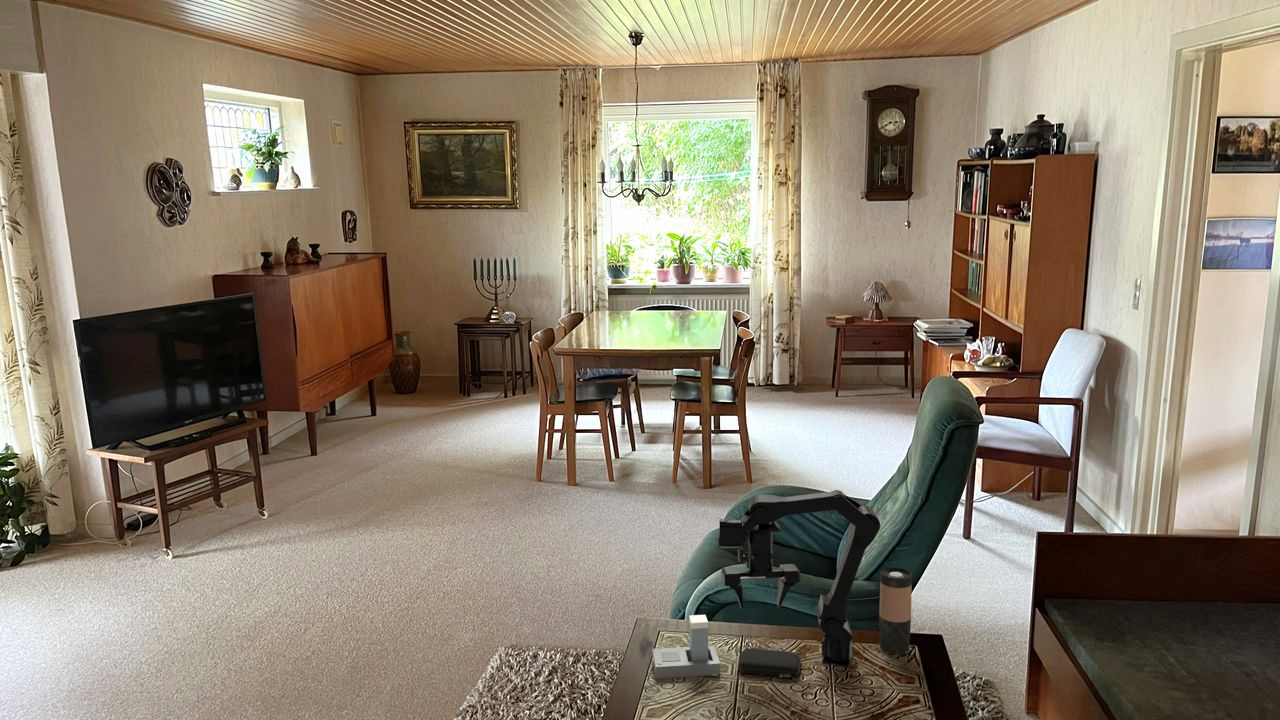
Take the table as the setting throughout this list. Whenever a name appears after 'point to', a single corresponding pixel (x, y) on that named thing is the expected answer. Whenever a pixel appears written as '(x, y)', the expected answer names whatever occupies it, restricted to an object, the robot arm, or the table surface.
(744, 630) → the table surface
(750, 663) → the carrying case or bag
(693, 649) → the blue-grey square block
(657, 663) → the grey holder base
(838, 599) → the robot arm
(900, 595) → the travel mug
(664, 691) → the table surface
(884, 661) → the table surface
